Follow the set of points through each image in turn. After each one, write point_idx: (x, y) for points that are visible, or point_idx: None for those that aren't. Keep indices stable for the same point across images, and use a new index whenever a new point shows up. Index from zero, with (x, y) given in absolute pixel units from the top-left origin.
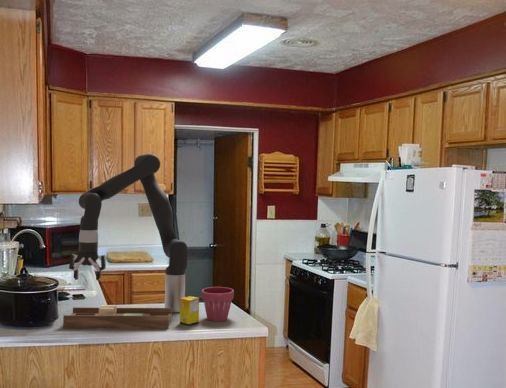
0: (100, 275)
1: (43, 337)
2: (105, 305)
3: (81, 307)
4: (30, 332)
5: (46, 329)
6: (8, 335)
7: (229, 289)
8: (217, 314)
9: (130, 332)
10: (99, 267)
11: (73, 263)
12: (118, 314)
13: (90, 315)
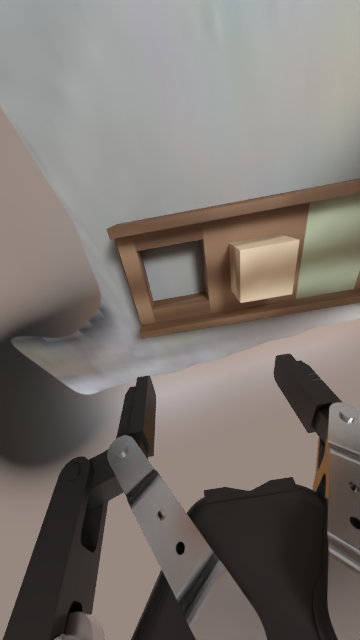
0: (317, 380)
1: None
2: (254, 252)
3: (139, 223)
4: (94, 357)
5: (112, 334)
6: (67, 379)
7: None
8: None
9: (314, 319)
10: (358, 438)
11: (77, 527)
12: (287, 230)
13: (216, 320)
